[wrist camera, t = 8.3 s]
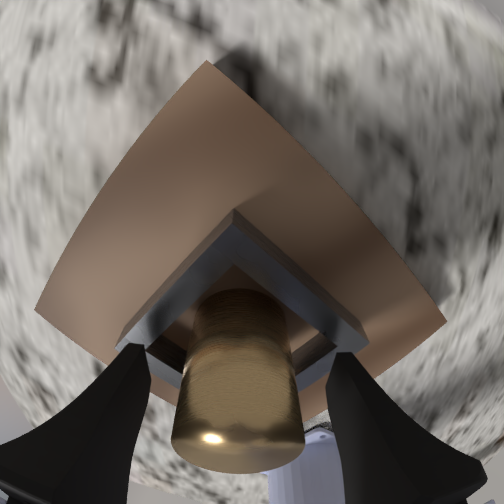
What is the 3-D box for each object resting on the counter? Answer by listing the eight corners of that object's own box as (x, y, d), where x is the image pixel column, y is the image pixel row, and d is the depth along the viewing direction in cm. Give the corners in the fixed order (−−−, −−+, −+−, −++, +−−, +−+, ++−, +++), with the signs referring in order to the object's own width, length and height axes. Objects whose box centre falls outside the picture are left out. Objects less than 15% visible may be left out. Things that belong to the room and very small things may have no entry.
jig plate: (435, 305, 15) (447, 321, 14) (258, 427, 20) (259, 445, 18) (211, 65, 10) (206, 59, 9) (46, 294, 14) (34, 309, 13)
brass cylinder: (305, 324, 13) (331, 442, 8) (242, 371, 15) (242, 482, 9) (236, 269, 12) (231, 394, 7) (175, 327, 13) (146, 444, 8)
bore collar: (360, 321, 14) (369, 343, 12) (245, 401, 16) (245, 423, 15) (233, 208, 11) (232, 223, 10) (124, 327, 13) (114, 348, 12)
